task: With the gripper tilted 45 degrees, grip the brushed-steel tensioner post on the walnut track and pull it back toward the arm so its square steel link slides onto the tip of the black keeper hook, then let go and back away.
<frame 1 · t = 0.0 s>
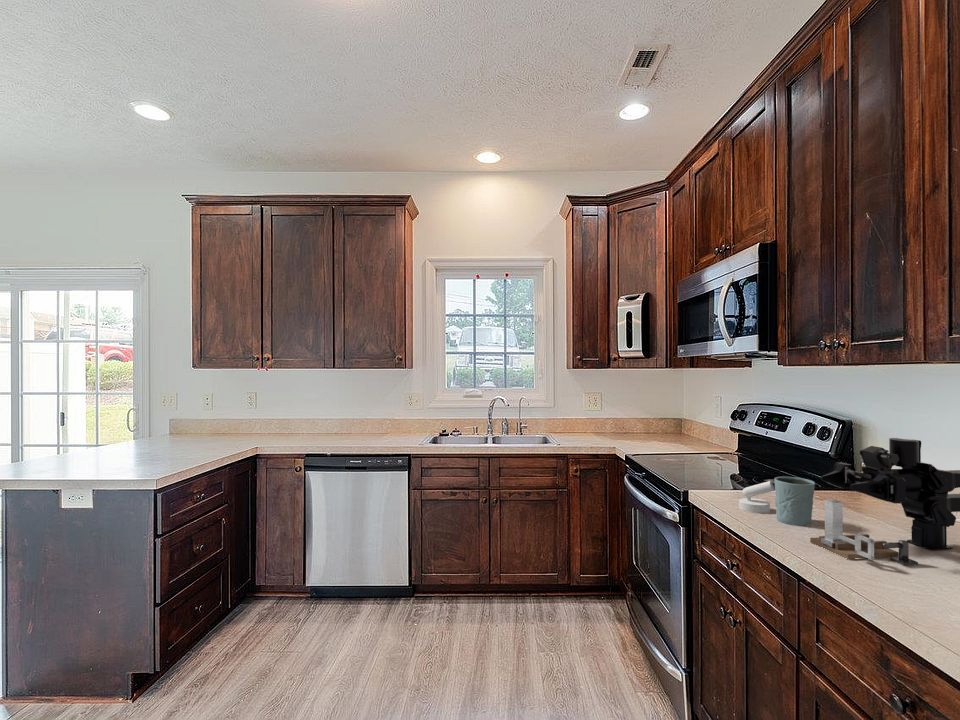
hand: (835, 482, 130), 17 cm above the table, tool horizontal, fingers open, 9 cm apart
keeper hook: (903, 562, 122), on the table
track board: (852, 549, 131), on the table
wall hook: (756, 510, 166), on the table
steel tensioner: (849, 528, 126), point 7 cm above the table, slide at 6.5 cm
green embossed cup: (794, 522, 154), on the table
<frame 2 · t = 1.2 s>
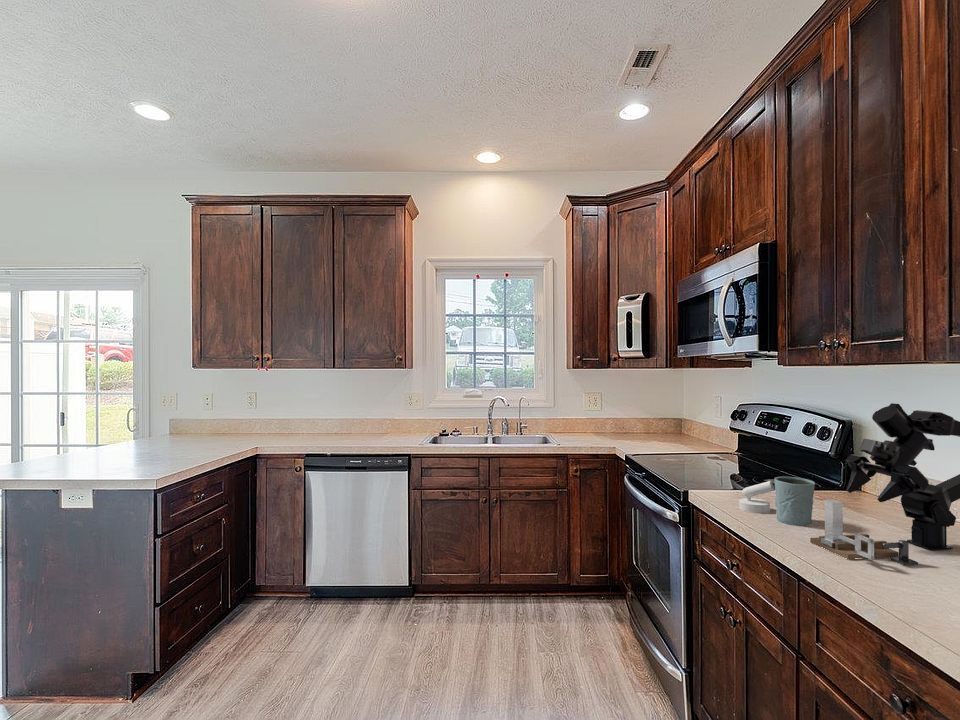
hand: (863, 496, 131), 13 cm above the table, tool tilted 45°, fingers open, 9 cm apart
nothing on the table moved.
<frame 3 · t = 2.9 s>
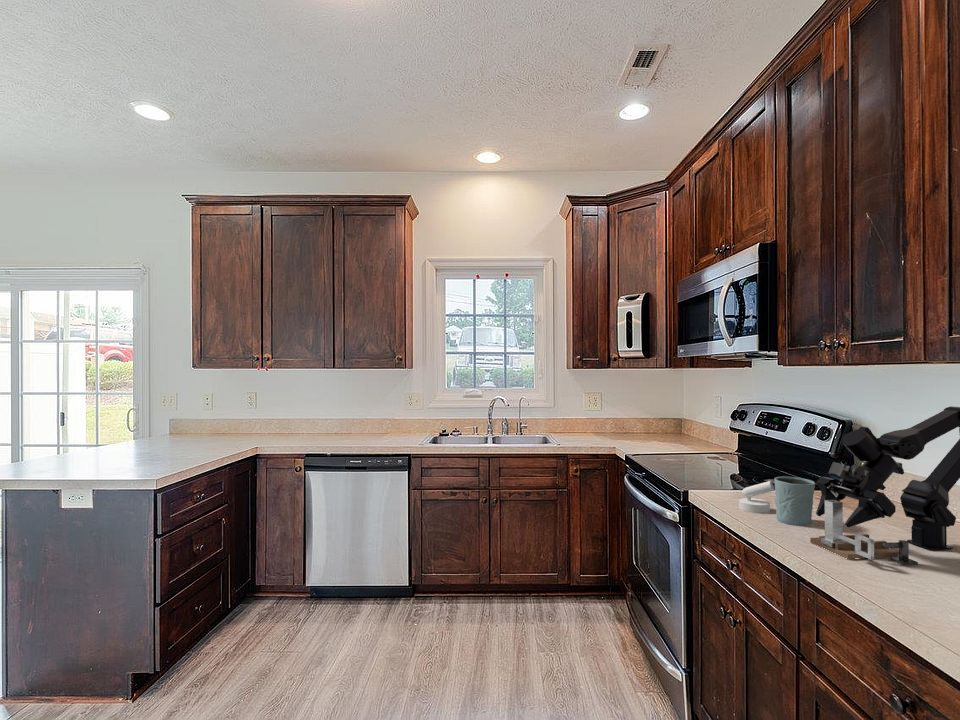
hand: (831, 520, 130), 7 cm above the table, tool tilted 45°, fingers open, 9 cm apart
nothing on the table moved.
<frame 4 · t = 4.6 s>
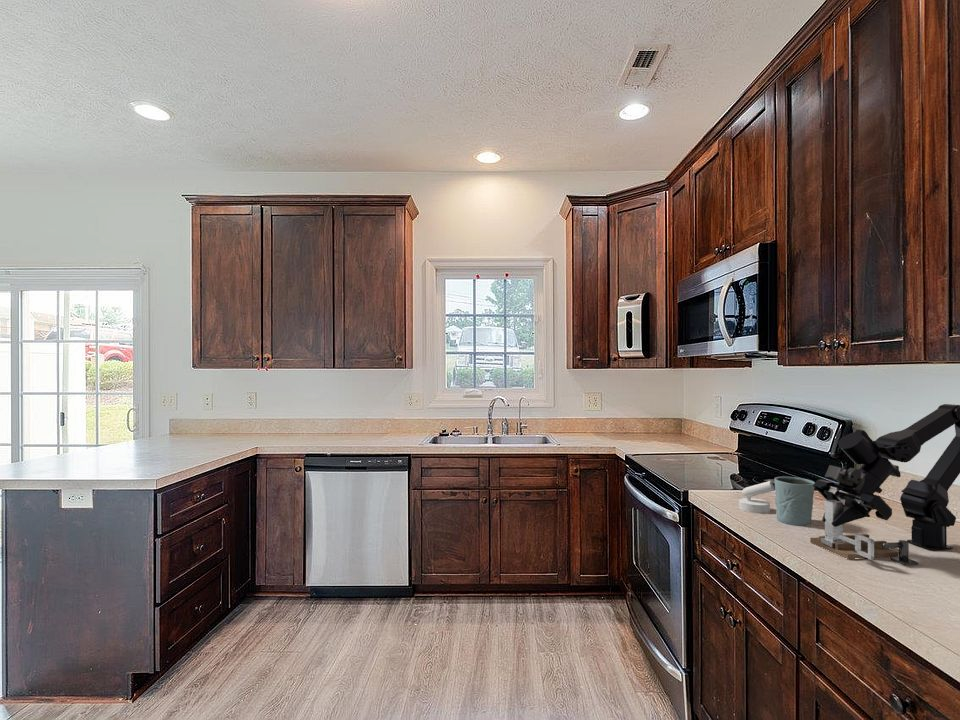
hand: (828, 523, 130), 7 cm above the table, tool tilted 45°, fingers closed on steel tensioner, 3 cm apart
steel tensioner: (849, 528, 126), point 7 cm above the table, slide at 6.5 cm, touching gripper
everything else where it was.
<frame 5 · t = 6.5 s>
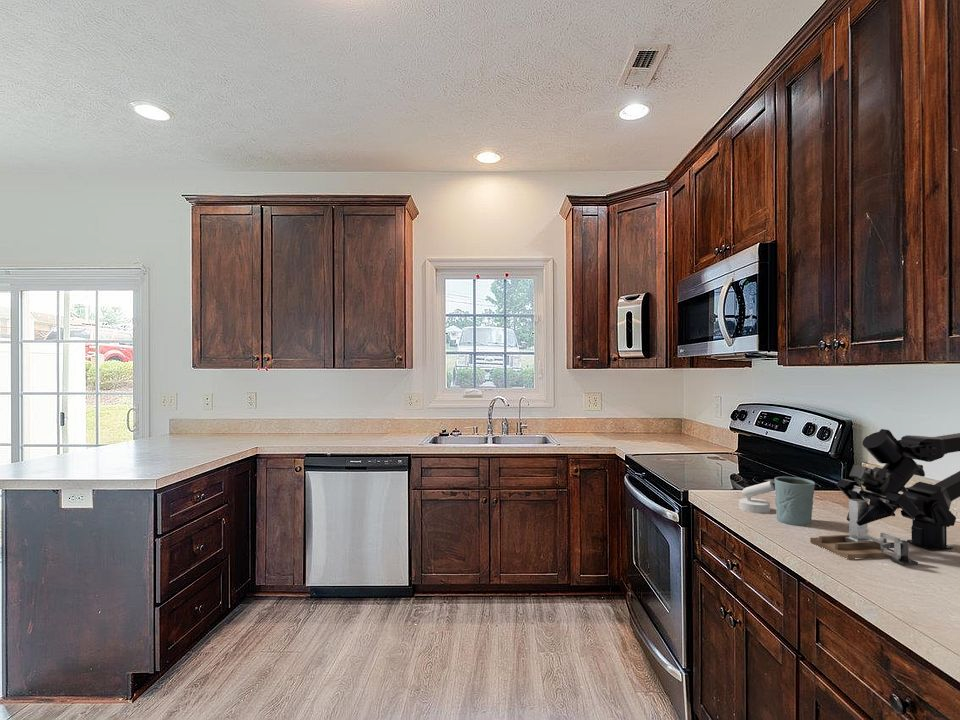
hand: (853, 522, 131), 7 cm above the table, tool tilted 45°, fingers closed on steel tensioner, 3 cm apart
steel tensioner: (874, 527, 126), point 7 cm above the table, slide at 0.0 cm, touching gripper
everything else where it was.
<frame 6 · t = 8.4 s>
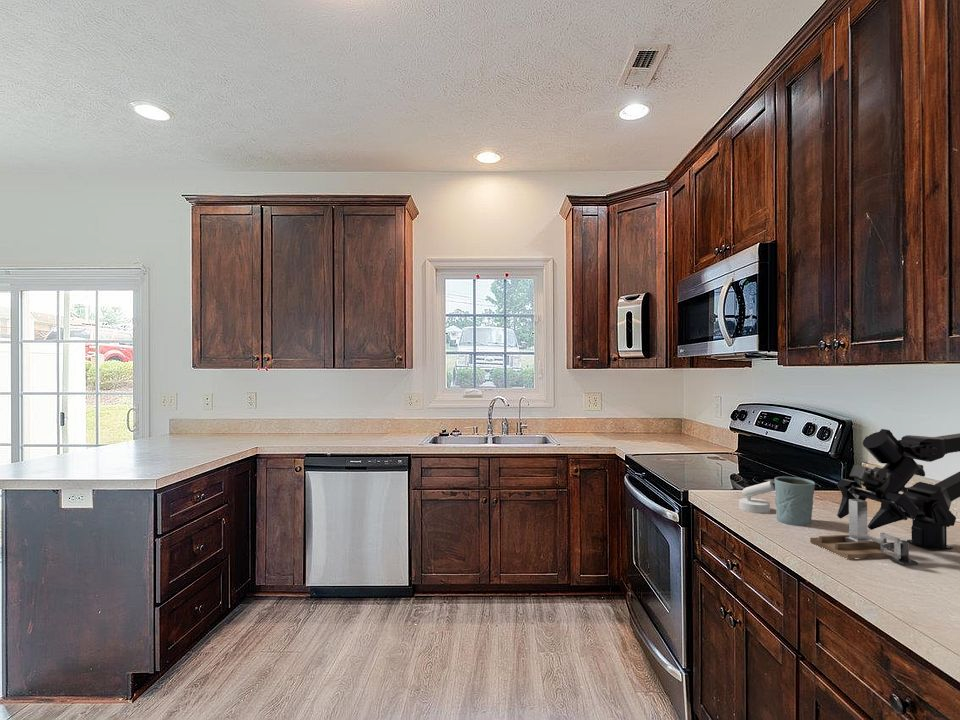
hand: (853, 522, 131), 7 cm above the table, tool tilted 45°, fingers open, 9 cm apart
steel tensioner: (874, 527, 126), point 7 cm above the table, slide at 0.0 cm
everything else where it was.
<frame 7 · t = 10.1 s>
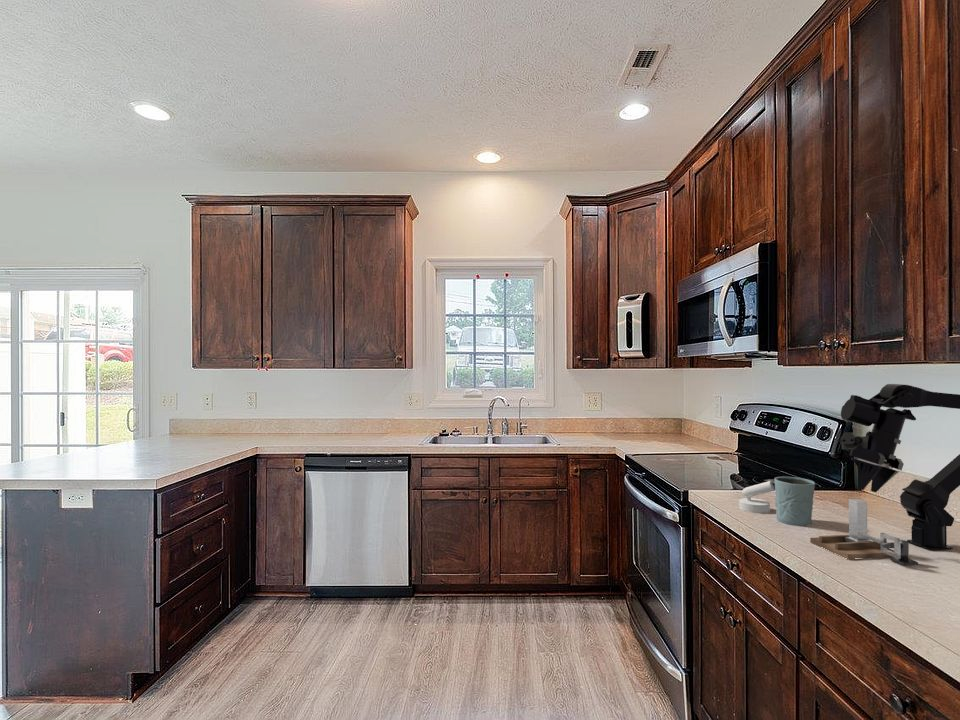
hand: (867, 490, 135), 13 cm above the table, tool tilted 15°, fingers open, 9 cm apart
nothing on the table moved.
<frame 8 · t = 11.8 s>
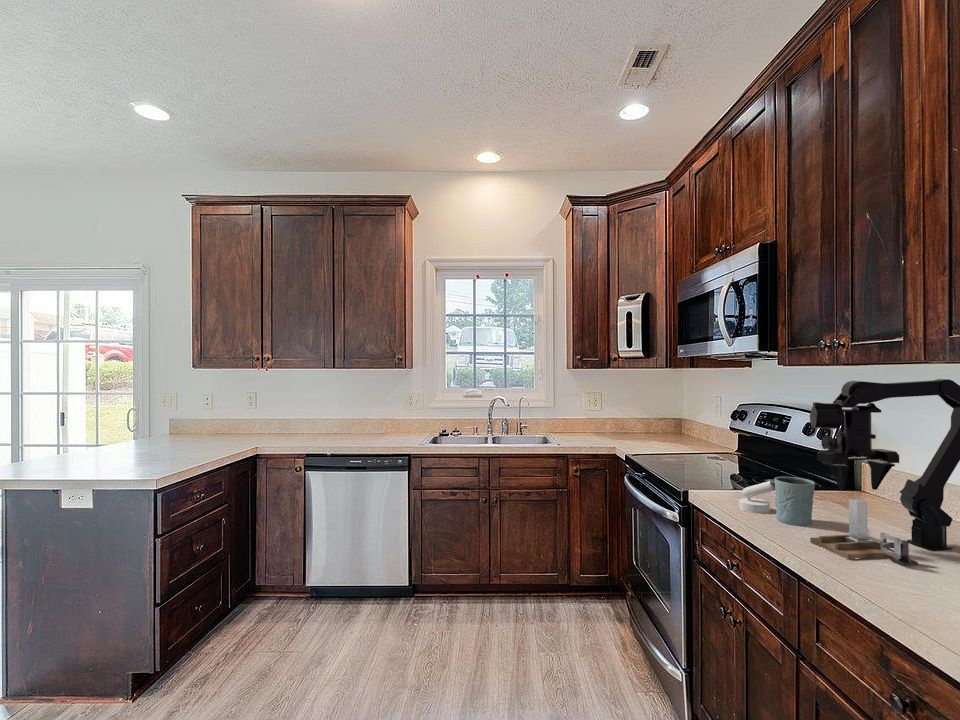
hand: (858, 489, 138), 13 cm above the table, tool pointing down, fingers open, 9 cm apart
nothing on the table moved.
at the end: steel tensioner slide at 0.0 cm; the gripper is holding nothing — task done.
